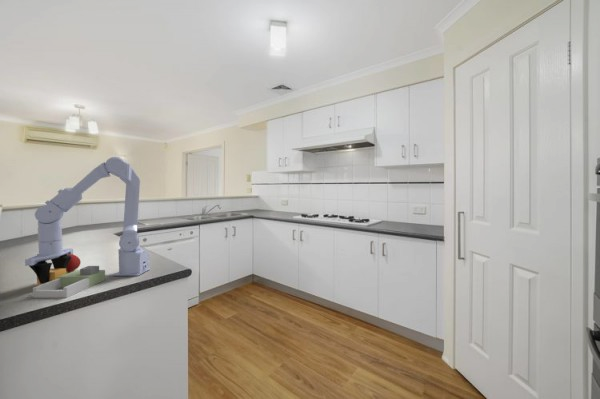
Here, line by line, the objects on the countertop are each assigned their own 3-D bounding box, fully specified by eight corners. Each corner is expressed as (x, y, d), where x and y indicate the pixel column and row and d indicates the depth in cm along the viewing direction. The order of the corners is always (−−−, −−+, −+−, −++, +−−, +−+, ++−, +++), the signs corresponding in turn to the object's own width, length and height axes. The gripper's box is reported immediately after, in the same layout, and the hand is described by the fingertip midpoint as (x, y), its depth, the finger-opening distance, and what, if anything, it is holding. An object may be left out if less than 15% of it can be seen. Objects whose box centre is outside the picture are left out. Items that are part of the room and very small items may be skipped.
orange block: (66, 282, 88) (66, 268, 87) (55, 287, 84) (54, 272, 83) (49, 282, 87) (48, 268, 87) (37, 287, 83) (36, 272, 83)
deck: (105, 279, 90) (104, 264, 90) (67, 297, 75) (66, 279, 75) (77, 279, 90) (76, 264, 90) (33, 297, 75) (32, 279, 75)
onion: (68, 275, 94) (67, 254, 94) (56, 274, 95) (55, 254, 95) (84, 271, 100) (83, 251, 99) (72, 270, 101) (72, 250, 101)
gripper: (58, 236, 92) (60, 273, 93) (14, 245, 78) (16, 288, 78) (78, 236, 92) (79, 273, 93) (37, 245, 78) (39, 288, 78)
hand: (52, 280), depth 85 cm, fingers open, 5 cm apart
